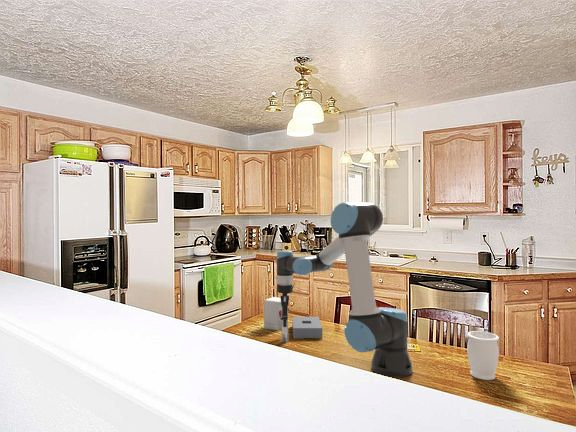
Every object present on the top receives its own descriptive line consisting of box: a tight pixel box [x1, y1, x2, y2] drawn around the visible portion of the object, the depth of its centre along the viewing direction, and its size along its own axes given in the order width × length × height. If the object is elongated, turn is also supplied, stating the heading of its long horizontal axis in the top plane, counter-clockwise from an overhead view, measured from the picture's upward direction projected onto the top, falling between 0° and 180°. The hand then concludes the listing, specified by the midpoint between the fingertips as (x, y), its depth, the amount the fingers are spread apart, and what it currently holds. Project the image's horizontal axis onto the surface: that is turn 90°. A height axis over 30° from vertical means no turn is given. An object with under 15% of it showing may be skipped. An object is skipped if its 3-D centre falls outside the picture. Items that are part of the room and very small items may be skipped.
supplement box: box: [263, 296, 282, 331], centre depth 198 cm, size 9×9×15 cm
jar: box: [466, 330, 500, 381], centre depth 138 cm, size 11×10×15 cm
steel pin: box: [281, 316, 289, 343], centre depth 176 cm, size 3×3×15 cm
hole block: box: [291, 316, 323, 340], centre depth 190 cm, size 20×14×5 cm
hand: (284, 329), depth 176 cm, fingers open, 13 cm apart
